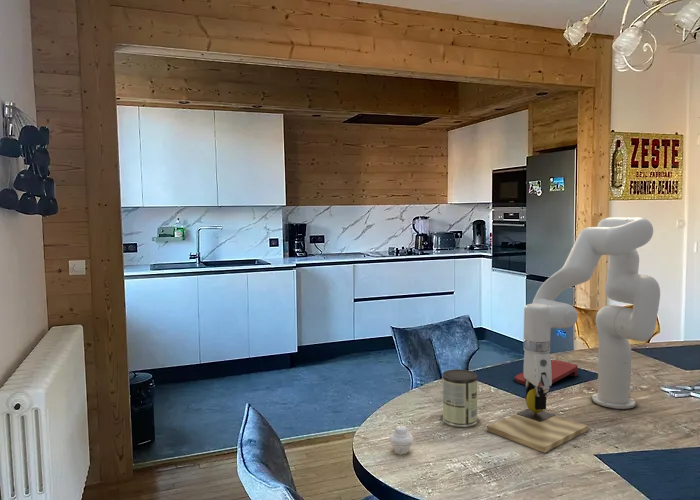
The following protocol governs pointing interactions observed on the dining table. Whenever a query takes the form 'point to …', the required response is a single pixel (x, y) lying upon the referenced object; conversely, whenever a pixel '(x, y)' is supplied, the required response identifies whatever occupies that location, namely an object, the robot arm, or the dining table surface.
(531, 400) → the lemon
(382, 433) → the dining table surface
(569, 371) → the red sloped ramp
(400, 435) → the white rounded piece
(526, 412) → the board
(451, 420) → the coffee can
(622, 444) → the dining table surface
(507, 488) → the dining table surface
